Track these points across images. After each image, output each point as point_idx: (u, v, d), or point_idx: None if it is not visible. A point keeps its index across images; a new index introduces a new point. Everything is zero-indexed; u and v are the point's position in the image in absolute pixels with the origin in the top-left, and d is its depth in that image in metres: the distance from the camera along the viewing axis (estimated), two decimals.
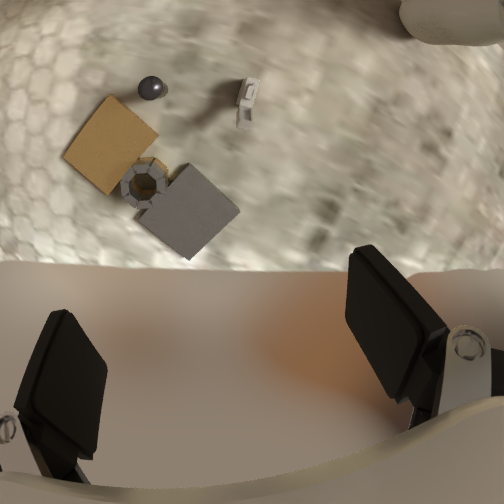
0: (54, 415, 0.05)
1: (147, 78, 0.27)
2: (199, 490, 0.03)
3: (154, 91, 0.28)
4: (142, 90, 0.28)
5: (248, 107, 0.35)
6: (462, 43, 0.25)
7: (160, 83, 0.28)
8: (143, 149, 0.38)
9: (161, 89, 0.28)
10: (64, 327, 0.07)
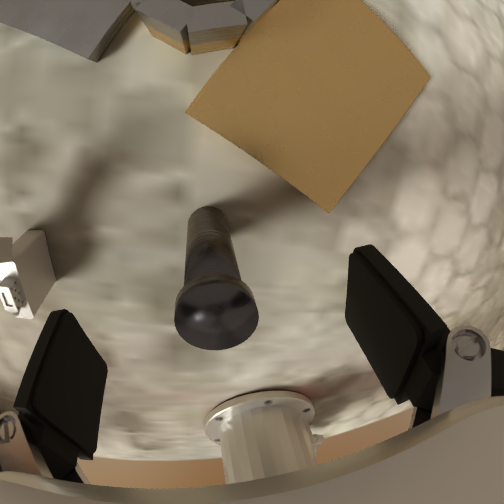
0: (54, 415, 0.05)
1: (233, 342, 0.11)
2: (199, 490, 0.03)
3: (199, 314, 0.10)
4: (241, 311, 0.10)
5: None
6: None
7: (187, 336, 0.10)
8: (222, 71, 0.12)
9: (178, 322, 0.10)
10: (64, 327, 0.07)
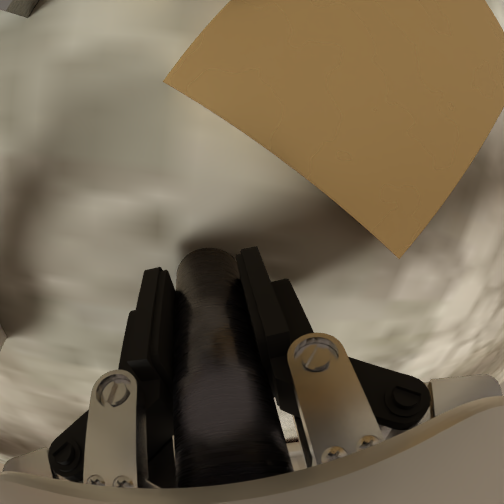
0: (169, 368, 0.07)
1: None
2: (199, 490, 0.03)
3: None
4: None
5: None
6: None
7: None
8: (239, 6, 0.05)
9: None
10: None
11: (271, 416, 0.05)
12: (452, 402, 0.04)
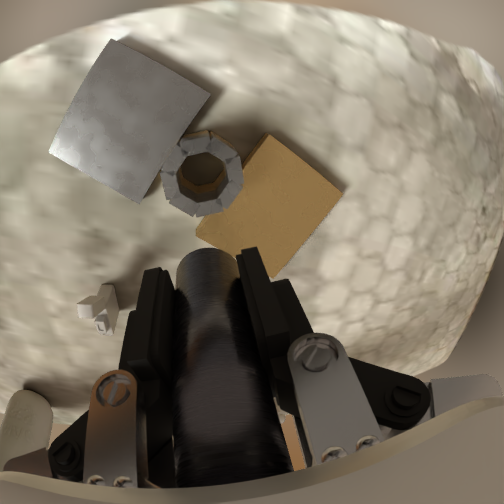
0: (169, 368, 0.07)
1: None
2: (199, 490, 0.03)
3: None
4: None
5: None
6: (2, 434, 0.26)
7: None
8: (213, 214, 0.28)
9: None
10: None
11: (271, 417, 0.05)
12: (452, 402, 0.04)
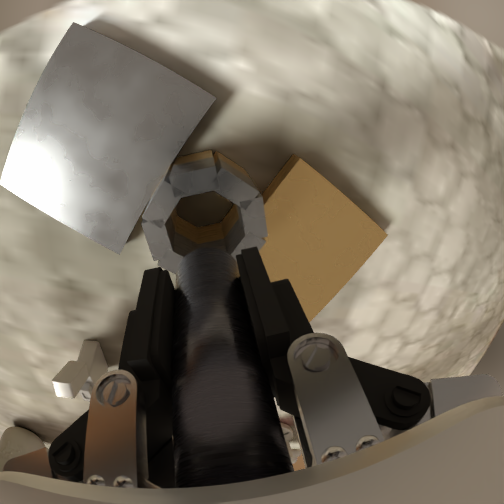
0: (169, 368, 0.07)
1: None
2: (199, 490, 0.03)
3: None
4: None
5: None
6: None
7: None
8: None
9: None
10: None
11: (271, 417, 0.05)
12: (452, 401, 0.04)
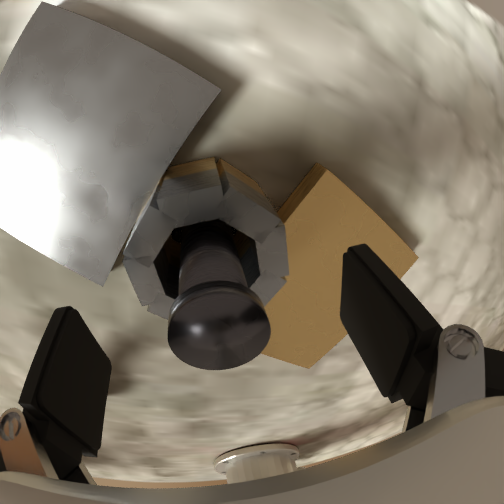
0: (59, 411, 0.05)
1: (239, 361, 0.09)
2: (199, 490, 0.03)
3: (198, 331, 0.08)
4: (250, 327, 0.08)
5: None
6: None
7: (184, 356, 0.08)
8: None
9: (172, 340, 0.08)
10: (69, 324, 0.07)
11: (239, 268, 0.10)
12: None
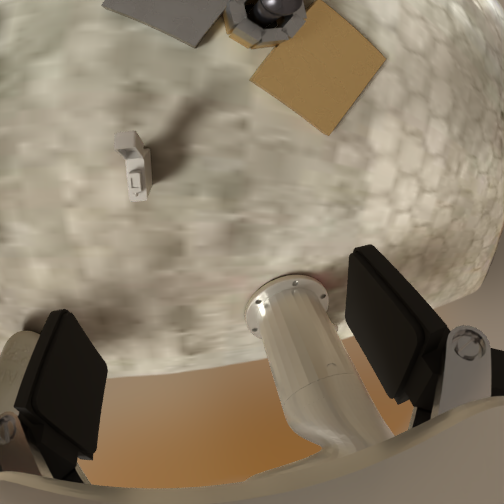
0: (54, 415, 0.05)
1: (290, 10, 0.15)
2: (199, 490, 0.03)
3: None
4: None
5: (130, 158, 0.23)
6: None
7: (267, 3, 0.15)
8: (270, 59, 0.23)
9: None
10: (64, 327, 0.07)
11: None
12: None
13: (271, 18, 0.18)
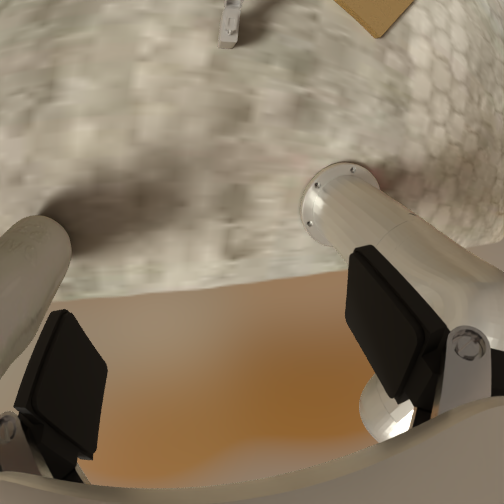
0: (54, 415, 0.05)
1: None
2: (199, 490, 0.03)
3: None
4: None
5: (228, 7, 0.21)
6: None
7: None
8: None
9: None
10: (64, 327, 0.07)
11: None
12: None
13: None
